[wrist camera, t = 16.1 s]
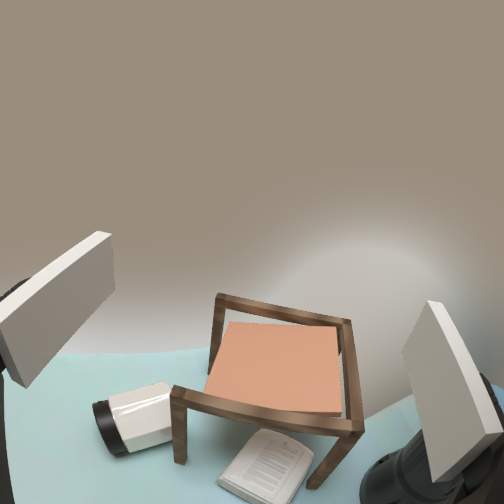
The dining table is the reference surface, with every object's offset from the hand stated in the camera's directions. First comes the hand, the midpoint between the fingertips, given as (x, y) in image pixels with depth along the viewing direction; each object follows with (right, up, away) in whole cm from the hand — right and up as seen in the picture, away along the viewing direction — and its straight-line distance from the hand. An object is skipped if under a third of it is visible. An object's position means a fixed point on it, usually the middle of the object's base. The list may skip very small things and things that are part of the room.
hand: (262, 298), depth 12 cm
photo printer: (-1, -31, +20) cm, 36 cm away
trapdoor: (+3, -13, +27) cm, 30 cm away
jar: (-11, -21, +30) cm, 39 cm away
